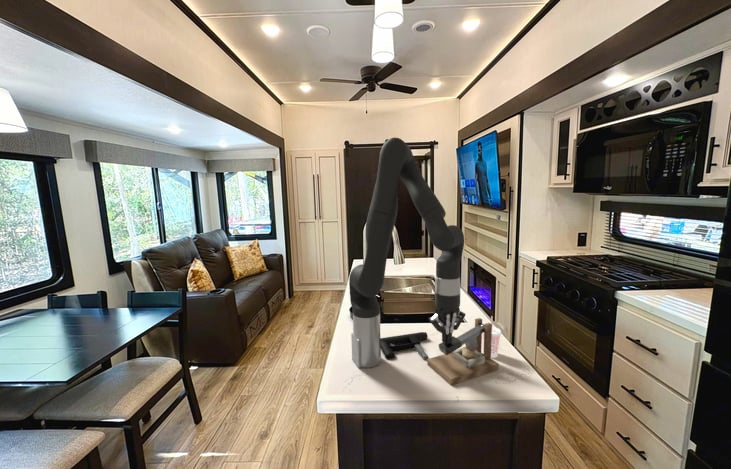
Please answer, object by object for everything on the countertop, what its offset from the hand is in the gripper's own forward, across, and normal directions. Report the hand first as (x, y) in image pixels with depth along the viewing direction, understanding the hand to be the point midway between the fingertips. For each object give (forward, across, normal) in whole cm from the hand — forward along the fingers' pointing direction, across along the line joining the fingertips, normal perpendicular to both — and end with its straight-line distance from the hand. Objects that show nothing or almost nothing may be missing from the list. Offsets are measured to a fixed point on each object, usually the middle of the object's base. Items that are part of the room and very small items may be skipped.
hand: (447, 343), depth 95 cm
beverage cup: (+10, +20, +2) cm, 23 cm away
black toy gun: (+10, -4, +17) cm, 20 cm away
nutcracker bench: (+10, +6, 0) cm, 11 cm away
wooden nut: (+8, +9, 0) cm, 12 cm away
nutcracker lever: (+4, +8, 0) cm, 9 cm away
